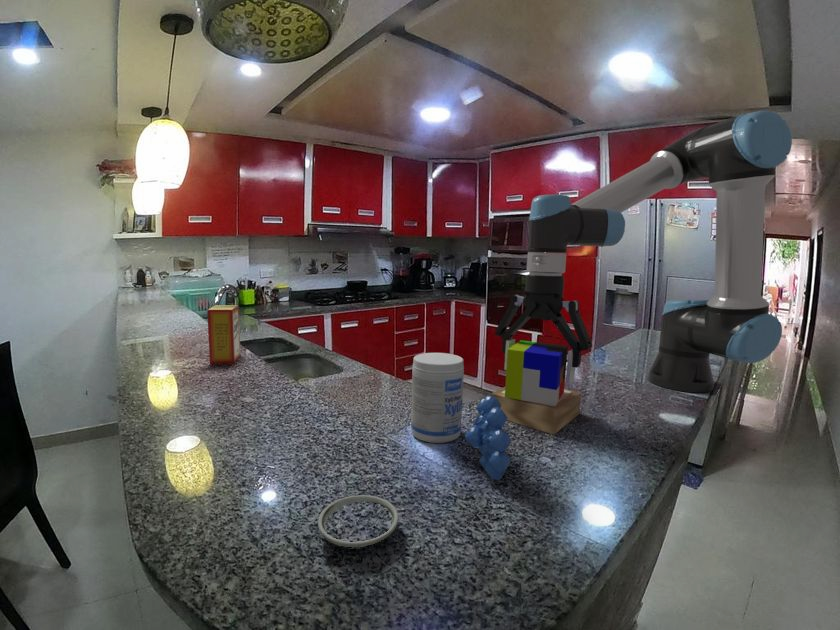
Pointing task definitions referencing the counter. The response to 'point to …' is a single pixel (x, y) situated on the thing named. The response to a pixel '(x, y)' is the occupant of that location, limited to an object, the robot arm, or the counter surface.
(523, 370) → the puzzle toy
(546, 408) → the oak picture frame
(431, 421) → the supplement tub
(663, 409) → the counter surface
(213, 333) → the baking soda box
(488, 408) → the grapes
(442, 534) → the counter surface
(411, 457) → the counter surface
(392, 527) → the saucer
